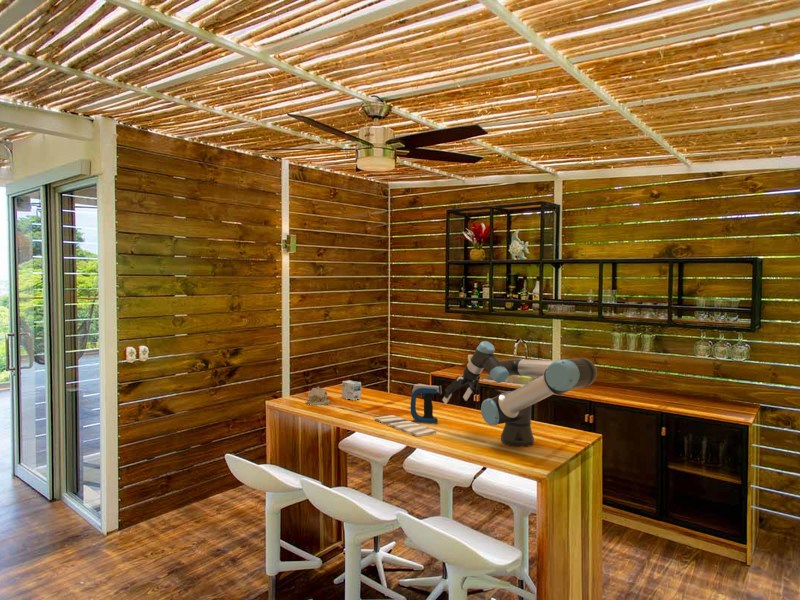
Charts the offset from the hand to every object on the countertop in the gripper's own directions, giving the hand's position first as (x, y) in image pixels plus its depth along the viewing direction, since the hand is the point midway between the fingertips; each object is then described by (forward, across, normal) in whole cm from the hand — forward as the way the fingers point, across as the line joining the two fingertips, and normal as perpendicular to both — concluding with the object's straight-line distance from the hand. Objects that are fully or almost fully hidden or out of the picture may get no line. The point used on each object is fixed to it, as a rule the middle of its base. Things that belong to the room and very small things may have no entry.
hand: (454, 400), depth 264 cm
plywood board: (+24, +16, -7) cm, 30 cm away
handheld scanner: (+25, +1, -8) cm, 26 cm away
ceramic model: (+64, +29, -62) cm, 93 cm away
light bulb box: (+64, +6, -62) cm, 89 cm away
